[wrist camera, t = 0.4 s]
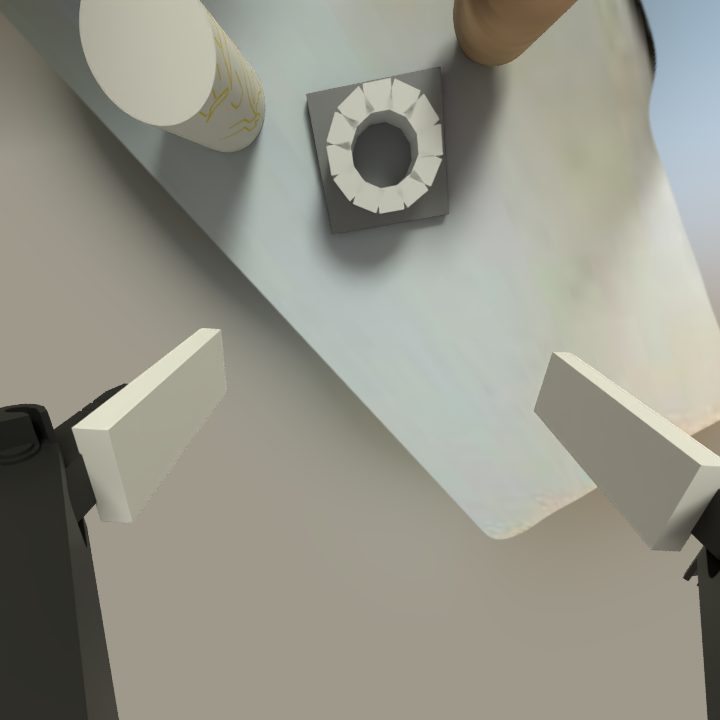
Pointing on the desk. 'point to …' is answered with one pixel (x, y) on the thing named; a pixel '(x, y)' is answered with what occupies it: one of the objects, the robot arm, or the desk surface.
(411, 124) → the socket
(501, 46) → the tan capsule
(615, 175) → the desk surface
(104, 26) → the cup
